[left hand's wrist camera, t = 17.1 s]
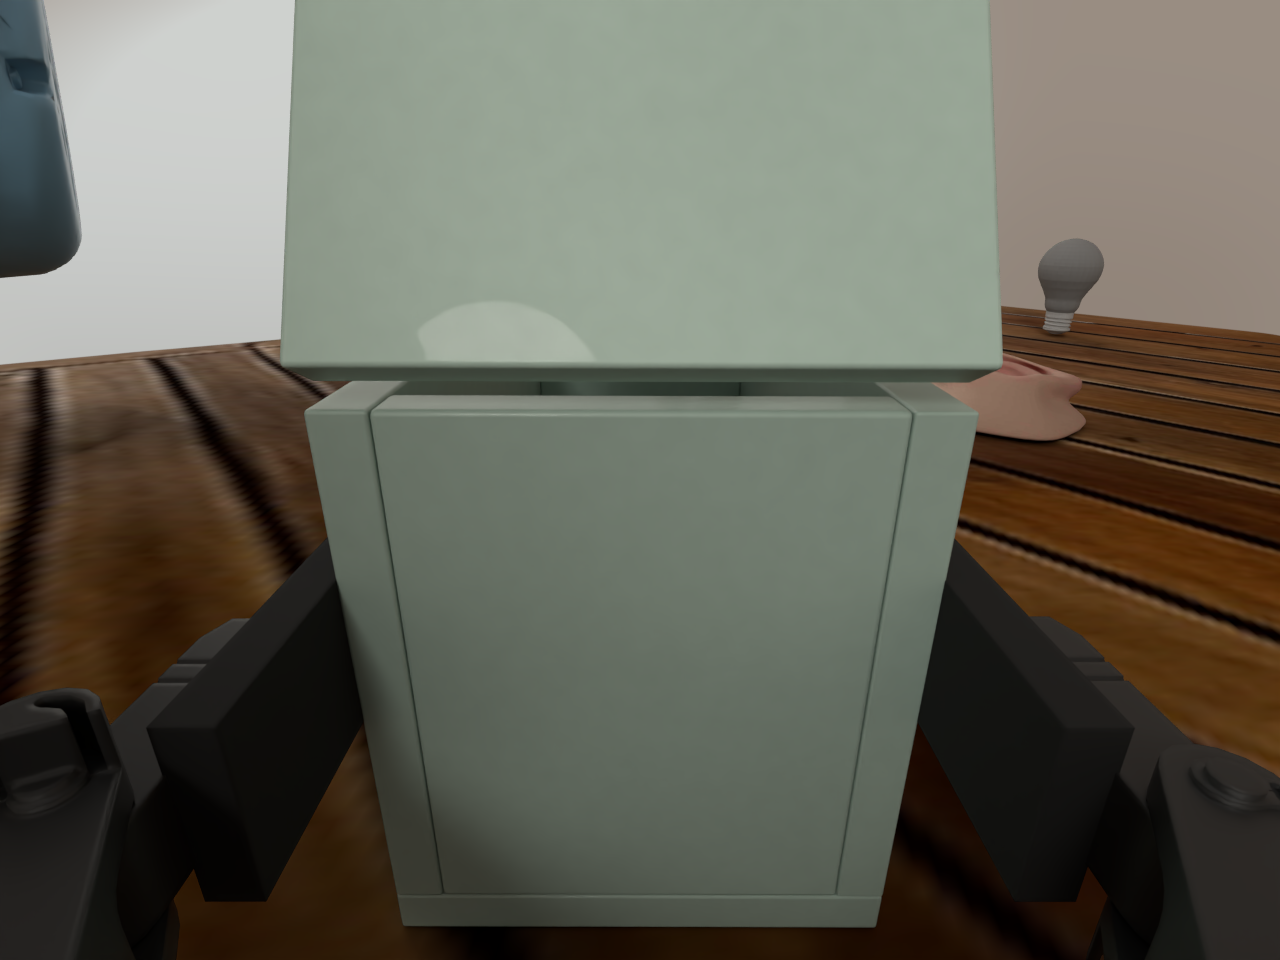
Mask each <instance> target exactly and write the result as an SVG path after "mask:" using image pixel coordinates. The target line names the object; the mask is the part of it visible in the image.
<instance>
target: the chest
mask: <svg viewBox="0 0 1280 960" xmlns="http://www.w3.org/2000/svg"><path fill="white" fill-rule="evenodd" d="M304 416H305V421H306V426H307V432H308V437H309V442H310V447H311V452H312V457H313V463H314V468H315V473H316V478H317V483H318V488H319V494H320V499H321V504H322V509H323V514H324V519H325V524H326V530H327V535H328V540H329V545H330V550H331V555H332V561H333V566H334V571H335V576H336V581H337V586H338V591H339V596H340V601H341V607H342V612H343V617H344V622H345V627H346V632H347V637H348V642H349V647H350V652H351V658H352V663H353V668H354V673H355V678H356V683H357V688H358V693H359V698H360V703H361V708H362V714H363V719H364V726H365V731H366V736H367V741H368V746H369V752H370V757H371V762H372V767H373V772H374V777H375V782H376V788H377V793H378V798H379V803H380V808H381V813H382V819H383V824H384V829H385V834H386V839H387V844H388V850H389V855H390V860H391V865H392V870H393V875H394V880H395V886H396V891H397V893H398V895H397V896H398V902H399V907H400V912H401V918H402V923H403V925H404V926H546V927H875V926H876V923H877V918H878V913H879V908H880V903H881V898H882V897H881V896H882V895H883V890H884V885H885V880H886V875H887V870H888V865H889V860H890V855H891V850H892V845H893V840H894V835H895V830H896V825H897V820H898V815H899V810H900V805H901V800H902V795H903V790H904V785H905V780H906V775H907V770H908V765H909V761H910V756H911V751H912V746H913V741H914V736H915V731H916V726H917V720H918V715H919V710H920V704H921V699H922V694H923V689H924V684H925V679H926V674H927V669H928V664H929V659H930V654H931V649H932V644H933V639H934V634H935V629H936V624H937V619H938V614H939V609H940V604H941V599H942V594H943V589H944V584H945V581H946V577H947V572H948V567H949V562H950V557H951V552H952V547H953V542H954V537H955V532H956V527H957V522H958V517H959V512H960V507H961V502H962V497H963V492H964V488H965V483H966V478H967V473H968V468H969V463H970V458H971V453H972V448H973V443H974V438H975V433H976V428H977V423H978V418H979V413H978V412H977V411H975V410H974V409H972V408H971V407H969V406H967V405H966V404H964V403H963V402H961V401H959V400H958V399H956V398H955V397H953V396H951V395H950V394H948V393H946V392H945V391H943V390H942V389H940V388H938V387H937V386H935V385H934V384H932V383H911V382H566V381H352V382H350V383H348V384H347V385H345V386H344V387H342V388H340V389H339V390H337V391H336V392H334V393H332V394H331V395H329V396H328V397H326V398H324V399H323V400H321V401H319V402H318V403H316V404H315V405H313V406H311V407H310V408H308V409H307V410H305V413H304Z"/></svg>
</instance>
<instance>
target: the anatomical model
mask: <svg viewBox="0 0 1280 960" xmlns="http://www.w3.org/2000/svg"><path fill="white" fill-rule="evenodd" d="M932 384H934V385H935V386H937V387H938V388H940V389H942V390H943V391H945V392H946V393H948V394H950V395H951V396H953V397H955V398H956V399H958V400H959V401H961V402H963V403H964V404H966V405H967V406H969V407H971V408H972V409H974V410H975V411H977V412H978V413H979V418H978V423H977V428H976V432H980V433H986V434H992V435H997V436H1003V437H1010V438H1017V439H1025V440H1035V441H1051V440H1057V439H1061V438H1064V437H1067V436H1069V435H1071V434H1073V433H1075V432H1077V431H1079V430H1080V429H1081V428H1082V427H1083V426H1084V425H1085V423H1086V420H1085V418H1084V417H1083V415H1082V414H1081V413H1079V412H1078V411H1077V410H1076V409H1075V408H1074V407H1073V406H1072V405H1071V404H1070V403H1069V399H1070V398H1071V397H1072V396H1073V395H1075V394H1076V393H1078V392H1079V390H1080V389H1081V387H1082V381H1081V379H1079V378H1078V377H1076V376H1073V375H1070V374H1067V373H1064V372H1061V371H1057V370H1054V369H1051V368H1048V367H1044V366H1041V365H1038V364H1036V363H1033V362H1030V361H1027V360H1024V359H1021V358H1018V357H1015V356H1011V355H1008V354H1004V353H1003V364H1002V367H1001V369H999V370H997V371H995V372H992V373H990V374H988V375H986V376H983V377H981V378H979V379H977V380H974V381H972V382H969V383H932Z"/></svg>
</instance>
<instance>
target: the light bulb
mask: <svg viewBox="0 0 1280 960" xmlns="http://www.w3.org/2000/svg"><path fill="white" fill-rule="evenodd" d="M1103 267H1104V260H1103V256H1102V254H1101V252H1100V250H1099V249H1098V248H1097V246H1096V245H1094V244H1093V243H1091V242H1089V241H1087V240H1083V239H1070V240H1065V241H1062V242H1060V243H1058V244H1056V245H1055V246H1053V247H1052V248H1051V249H1049V250H1048V251H1047V253H1046V254H1045V255H1044V256H1043V258H1042V259H1041V261H1040V263H1039V268H1038V277H1039V280H1040V283H1041V286H1042V288H1043V291H1044V295H1045V308H1046V310H1047V311H1046V318H1045V319H1046V321H1045V322H1044V323H1046V324H1045V325H1044V326H1043V329H1045V330H1046V331H1048V332H1049V333H1051V334H1062V333H1065V332H1067V331H1070V328H1069V326H1071V325H1070V323H1072V322H1071V321H1070V320H1071V319H1073V315H1074V312H1075V311H1076V310H1077V309H1078V307H1079V305H1080V302H1081V300H1082V298H1083V297H1084V296H1085V295H1086V293H1087V292H1088V291H1089V290H1090V289H1091V288H1092V287H1093V285H1094V284H1095V283H1096V282H1097V281H1098V279H1099V278H1100V276H1101V274H1102V271H1103Z"/></svg>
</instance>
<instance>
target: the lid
mask: <svg viewBox="0 0 1280 960" xmlns="http://www.w3.org/2000/svg"><path fill="white" fill-rule="evenodd" d="M280 363H281V365H282V367H284V368H286V369H288V370H291V371H293V372H295V373H297V374H299V375H302V376H304V377H306V378H308V379H310V380H313V381H566V382H911V383H969V382H972V381H974V380H977V379H979V378H981V377H983V376H986V375H988V374H990V373H992V372H995V371H997V370H999V369H1001V367H1002V364H1003V352H1002V325H1001V298H1000V271H999V243H998V216H997V188H996V160H995V133H994V105H993V78H992V50H991V24H990V0H295V14H294V38H293V62H292V87H291V110H290V134H289V158H288V182H287V205H286V230H285V253H284V277H283V301H282V325H281V348H280Z"/></svg>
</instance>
